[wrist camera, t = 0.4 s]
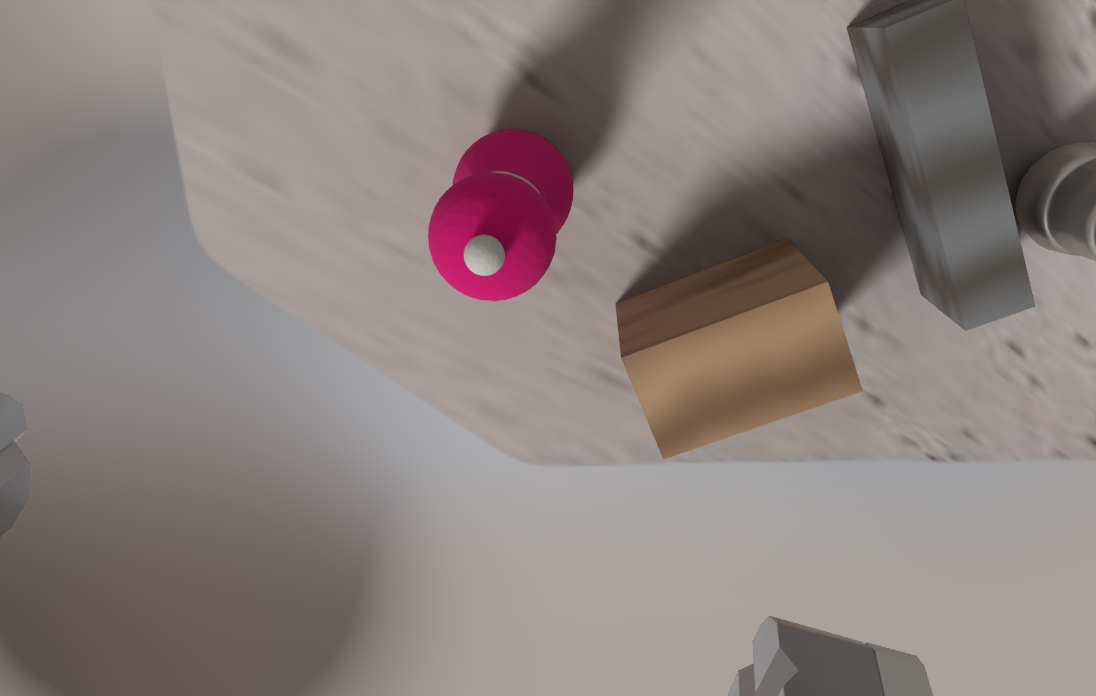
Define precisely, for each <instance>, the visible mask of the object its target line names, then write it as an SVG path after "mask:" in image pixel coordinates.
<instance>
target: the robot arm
mask: <svg viewBox="0 0 1096 696" xmlns="http://www.w3.org/2000/svg"><path fill="white" fill-rule="evenodd" d="M26 430H27V428H26V421H25V415H24V409H23V404H22V403H20V402H18V401H17V400H15V399H14V398H12V397H11V396H9V395H6V394H2V393H0V538H1V537H2V536H3V535H4V534H5V533H6V532H7V531H9V530H10V529H11V528H12V527H13V525H14V524H15V522H16V520H17V519H18V517H19V515H20V514H21V512H22V510H23V509H24V507H25V505H26V504H27V502H28V497H29V492H30V488H31V483H32V477H31V465H30V462H29V461H28V460H27V458H26V456H25V455H24V454H23V452H22V451H21V450H20V448H19V447H18V445H17V444H16V443H15V442H16V441H17V440H18V439H19V438H20V437H21V436H22V435H23V433H24V432H25V431H26ZM753 656H754V664H752V665H749V666H748V667H745V668H743V669H741V670H739V671H738V673H737V675H736V678H735V680H734V682H733V685H732V687H731V689H730V691H729V694H728V696H933V693H932V690H931V687H930V684H929V680H928V677H927V673H926V671H925V667H924V665H923V663H922V662H921V661H920V660H919V658H918V657H917V656H915V655H911V654H907V653H904V652H900V651H896V650H893V649H889V648H885V647H881V646H878V645H874V644H871V643H865V644H864V643H863V642H861V641H857V640H853V639H850V638H846V637H843V636H839V635H836V634H832V633H829V632H825V631H822V630H818V629H814V628H811V627H807V626H804V625H800V624H797V623H793V622H790V621H786V620H782V619H779V618H775V617H771V616H769V617H768V618H767V619H766V620H765V621H764V622H763V623H762V624H761V626H760V628H759V630H758V632H757V634H756V636H755V638H754V640H753Z"/></svg>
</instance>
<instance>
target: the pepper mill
mask: <svg viewBox="0 0 1096 696" xmlns="http://www.w3.org/2000/svg"><path fill="white" fill-rule="evenodd" d="M572 201H573V181H572V177H571V173H570V170H569V168H568V165H567V163H566V161H565V159H564V158H563V156H562V155H561V154H560V152H559V151H558V150H557V149H556V148H555V147H554V146H553V145H552V144H551V143H550V142H549V141H547V140H546V139H545V138H543V137H541V136H540V135H538V134H535V133H533V132H529V131H523V130H512V129H508V130H500V131H497V132H493V133H490V134H488V135H486V136H484V137H482V138H480V139H479V140H478V141H476V142H475V143H474V144H473V145H472V146H471V147H470V148H469V149H467V151H466V152H465V154H464V155H463V156H462V158H461V160H460V162H459V164H458V166H457V169H456V172H455V175H454V179H453V186H452V187H450V188H449V189H448V190H447V191H446V192H445V193H444V194H443V196H442V197H441V198H440V199H439V201H438V203H437V204H436V206H435V208H434V211H433V213H432V216H431V220H430V224H429V231H428V240H429V249H430V252H431V256H432V259H433V262H434V264H435V266H436V268H437V269H438V271H439V273H440V274H441V276H442V277H443V278H444V279H445V280H446V281H447V282H448V283H449V284H450V285H451V286H452V287H454V288H455V289H456V290H458V291H459V292H461V293H463V294H465V295H466V296H469V297H472V298H475V299H479V300H490V301H498V300H506V299H509V298H513V297H516V296H518V295H520V294H522V293H524V292H526V291H527V290H529V289H530V288H532V287H533V286H534V285H535V284H537V282H538V281H539V280H540V279H541V278H542V276H543V275H544V274H545V272H546V271H547V269H548V267H549V266H550V263H551V261H552V258H553V256H554V253H555V246H556V234H557V233H558V232H559V230H560V229H561V227H562V226H563V224H564V223H565V221H566V219H567V217H568V215H569V212H570V209H571V206H572Z"/></svg>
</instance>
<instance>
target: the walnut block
mask: <svg viewBox="0 0 1096 696" xmlns="http://www.w3.org/2000/svg"><path fill="white" fill-rule="evenodd" d="M616 312H617V322H618V332H619V341H620V351H621V359H622V361H623V363H624V366H625V368H626V371H627V373H628V375H629V378H630V380H631V383H632V385H633V387H634V390H635V392H636V395H637V397H638V399H639V402H640V404H641V407H642V409H643V411H644V414H645V416H646V419H647V421H648V423H649V426H650V428H651V430H652V433H653V435H654V438H655V440H656V442H657V445H658V447H659V450H660V452H661V454H662V457H663V459H666V458H669V457H672V456H675V455H677V454H680V453H683V452H686V451H689V450H692V449H695V448H698V447H701V446H704V445H707V444H710V443H712V442H715V441H718V440H721V439H724V438H727V437H730V436H733V435H736V434H739V433H742V432H745V431H748V430H750V429H753V428H756V427H759V426H762V425H765V424H768V423H771V422H774V421H777V420H780V419H783V418H785V417H788V416H791V415H794V414H797V413H800V412H803V411H806V410H809V409H812V408H815V407H818V406H820V405H823V404H826V403H829V402H832V401H835V400H838V399H841V398H844V397H847V396H850V395H853V394H855V393H858V392H861V391H863V390H862V387H861V384H860V381H859V378H858V375H857V372H856V368H855V365H854V362H853V359H852V356H851V353H850V349H849V346H848V343H847V340H846V337H845V334H844V330H843V327H842V324H841V321H840V318H839V315H838V311H837V308H836V305H835V302H834V299H833V296H832V292H831V289H830V286H829V283H828V281H827V280H826V279H825V278H824V277H823V276H822V275H821V273H820V272H819V271H818V270H817V269H816V268H815V267H814V266H813V265H812V264H811V263H810V262H809V261H808V260H807V259H806V257H805V256H804V255H803V254H802V253H801V252H800V251H799V250H798V249H797V248H796V247H795V246H794V245H793V244H792V243H791V241H790V240H789V239H788V238H786V239H784V240H781V241H778V242H776V243H773V244H770V245H768V246H765V247H763V248H760V249H757V250H755V251H752V252H749V253H747V254H744V255H742V256H739V257H736V258H734V259H731V260H729V261H726V262H723V263H721V264H718V265H715V266H713V267H710V268H708V269H705V270H702V271H700V272H697V273H694V274H692V275H689V276H687V277H684V278H681V279H679V280H676V281H673V282H671V283H668V284H666V285H663V286H660V287H658V288H655V289H652V290H650V291H647V292H645V293H642V294H639V295H637V296H634V297H631V298H629V299H626V300H624V301H621V302H618V303H616Z"/></svg>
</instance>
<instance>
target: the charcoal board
mask: <svg viewBox="0 0 1096 696" xmlns="http://www.w3.org/2000/svg"><path fill="white" fill-rule="evenodd" d="M847 30H848V34H849V38H850V41H851V45H852V48H853V52H854V56H855V59H856V63H857V66H858V70H859V74H860V77H861V81H862V84H863V88H864V91H865V95H866V99H867V102H868V106H869V109H870V113H871V117H872V120H873V124H874V127H875V131H876V135H877V138H878V142H879V145H880V149H881V152H882V156H883V160H884V163H885V167H886V170H887V174H888V178H889V181H890V185H891V188H892V192H893V196H894V199H895V203H896V206H897V210H898V214H899V217H900V221H901V224H902V228H903V231H904V235H905V239H906V242H907V246H908V249H909V253H910V257H911V260H912V264H913V267H914V271H915V275H916V278H917V282H918V285H919V289H920V292H921V295H922V296H923V297H924V298H926V299H927V300H928V301H929V302H931V303H932V304H933V305H934V306H935V307H937V308H938V309H939V310H940V311H942V312H943V313H944V314H945V315H947V316H948V317H949V318H950V319H952V320H953V321H954V322H955V323H956V324H958V325H959V326H960V327H961V328H963V329H964V330H965V331H966V330H969V329H972V328H975V327H978V326H981V325H983V324H986V323H989V322H992V321H995V320H998V319H1001V318H1004V317H1006V316H1009V315H1012V314H1015V313H1018V312H1021V311H1024V310H1027V309H1029V308H1032V307H1035V303H1034V299H1033V295H1032V290H1031V286H1030V282H1029V277H1028V273H1027V269H1026V264H1025V260H1024V256H1023V251H1022V247H1021V243H1020V238H1019V234H1018V230H1017V226H1016V221H1015V217H1014V213H1013V208H1012V204H1011V200H1010V195H1009V191H1008V187H1007V182H1006V178H1005V174H1004V169H1003V165H1002V161H1001V156H1000V152H999V148H998V143H997V139H996V135H995V130H994V126H993V122H992V117H991V113H990V109H989V104H988V100H987V96H986V91H985V87H984V83H983V78H982V74H981V70H980V65H979V61H978V57H977V53H976V48H975V44H974V40H973V35H972V31H971V27H970V22H969V18H968V14H967V9H966V5H965V1H964V0H911V1H908V2H906V3H904V4H901V5H899V6H897V7H894V8H892V9H889V10H887V11H885V12H882V13H880V14H878V15H875V16H873V17H870V18H868V19H866V20H863V21H861V22H859V23H856V24H854V25H852V26H849V27H847Z"/></svg>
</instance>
